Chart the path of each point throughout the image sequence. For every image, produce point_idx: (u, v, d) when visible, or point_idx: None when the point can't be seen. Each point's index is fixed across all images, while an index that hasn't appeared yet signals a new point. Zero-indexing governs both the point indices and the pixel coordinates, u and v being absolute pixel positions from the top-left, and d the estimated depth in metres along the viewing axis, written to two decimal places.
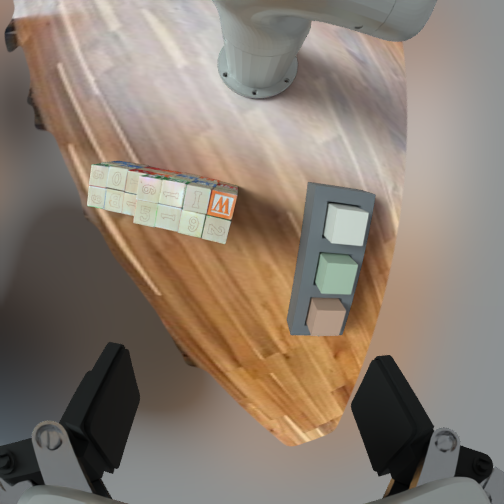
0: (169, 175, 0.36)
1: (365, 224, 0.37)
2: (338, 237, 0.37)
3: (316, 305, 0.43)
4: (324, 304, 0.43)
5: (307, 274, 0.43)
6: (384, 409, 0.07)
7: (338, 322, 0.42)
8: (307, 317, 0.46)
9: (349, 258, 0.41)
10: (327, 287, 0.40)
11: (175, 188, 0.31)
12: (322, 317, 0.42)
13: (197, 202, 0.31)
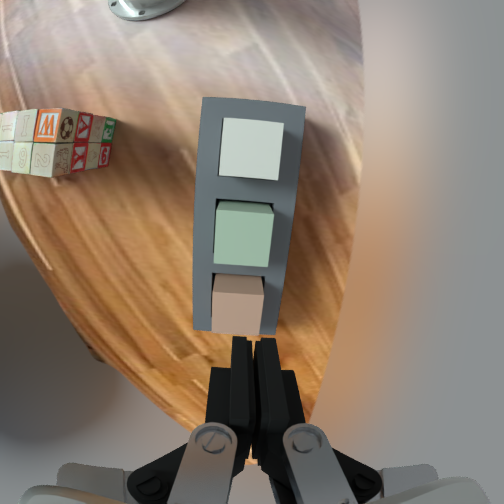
0: None
1: (279, 142, 0.21)
2: (230, 165, 0.22)
3: (216, 284, 0.28)
4: (230, 284, 0.28)
5: (201, 235, 0.28)
6: (256, 392, 0.08)
7: (253, 314, 0.27)
8: None
9: (266, 207, 0.26)
10: (222, 253, 0.25)
11: (10, 119, 0.15)
12: (223, 304, 0.27)
13: (25, 129, 0.16)
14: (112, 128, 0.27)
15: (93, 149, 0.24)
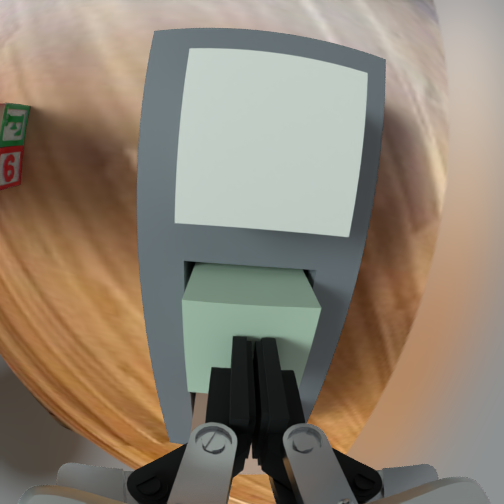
0: None
1: (358, 125, 0.07)
2: (208, 191, 0.07)
3: (197, 417, 0.13)
4: None
5: (161, 330, 0.13)
6: (256, 392, 0.08)
7: None
8: None
9: (296, 276, 0.12)
10: (204, 378, 0.11)
11: None
12: None
13: None
14: (22, 121, 0.12)
15: None
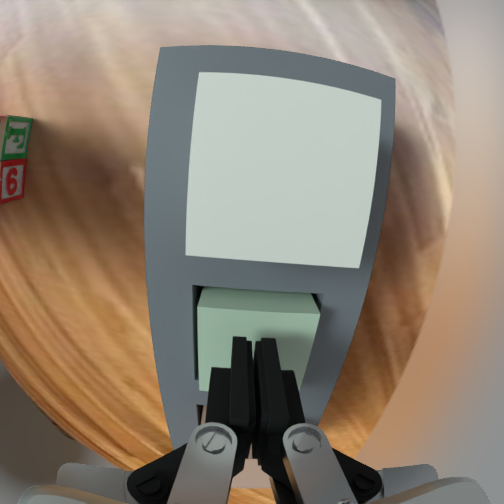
0: None
1: (371, 155, 0.07)
2: (220, 224, 0.07)
3: None
4: None
5: (168, 351, 0.13)
6: (256, 392, 0.08)
7: None
8: None
9: None
10: None
11: None
12: None
13: None
14: (25, 134, 0.13)
15: None
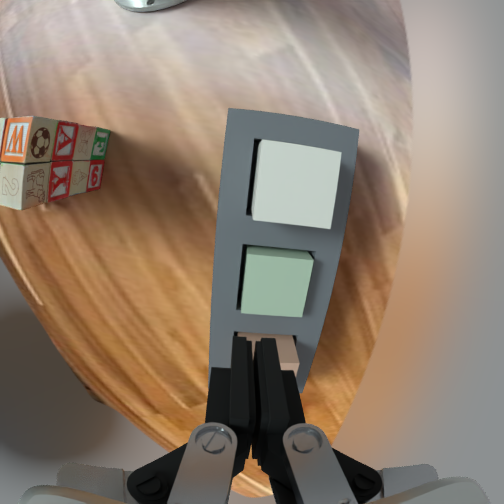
0: None
1: (335, 178, 0.16)
2: (269, 207, 0.17)
3: None
4: None
5: (222, 288, 0.22)
6: (256, 392, 0.08)
7: None
8: None
9: None
10: (252, 302, 0.21)
11: None
12: None
13: None
14: (105, 141, 0.22)
15: (80, 169, 0.19)
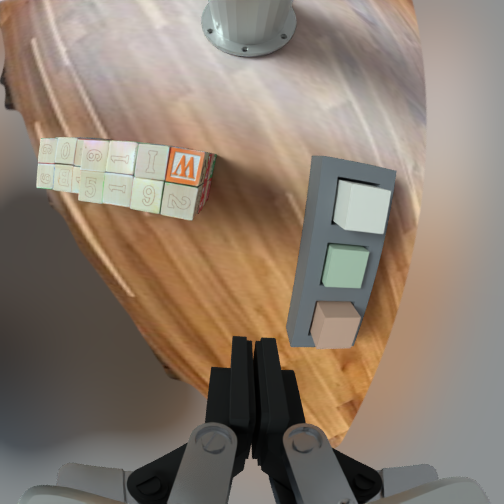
0: None
1: (387, 206, 0.27)
2: (353, 222, 0.28)
3: (323, 311, 0.33)
4: (333, 309, 0.34)
5: (312, 271, 0.33)
6: (256, 392, 0.08)
7: (350, 332, 0.33)
8: (311, 325, 0.37)
9: None
10: (332, 279, 0.33)
11: (124, 150, 0.21)
12: (331, 326, 0.32)
13: (151, 165, 0.22)
14: (214, 163, 0.33)
15: (207, 187, 0.30)
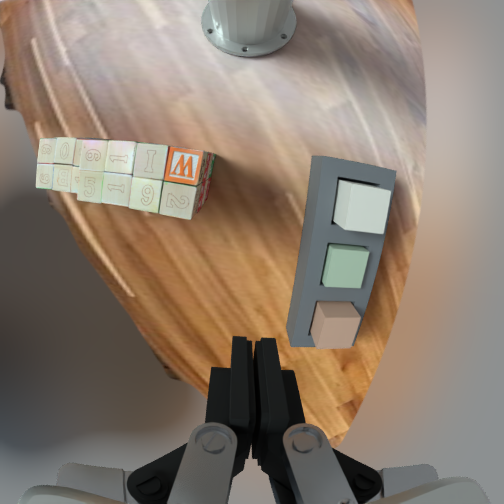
0: None
1: (387, 206, 0.27)
2: (353, 222, 0.28)
3: (323, 311, 0.33)
4: (333, 309, 0.34)
5: (312, 271, 0.33)
6: (256, 392, 0.08)
7: (350, 332, 0.33)
8: (311, 325, 0.37)
9: None
10: (332, 279, 0.33)
11: (123, 149, 0.21)
12: (331, 326, 0.32)
13: (150, 165, 0.22)
14: (213, 163, 0.33)
15: (206, 186, 0.30)
